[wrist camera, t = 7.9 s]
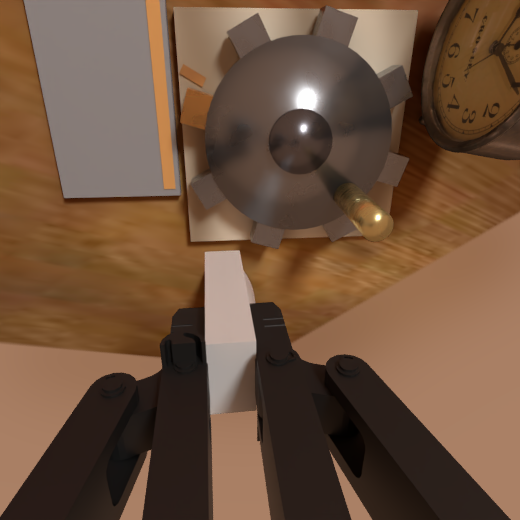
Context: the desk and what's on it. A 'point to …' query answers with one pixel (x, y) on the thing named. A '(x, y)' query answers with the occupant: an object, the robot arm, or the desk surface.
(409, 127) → the desk surface
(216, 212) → the plate
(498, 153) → the alarm clock
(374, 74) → the sprocket
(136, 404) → the robot arm
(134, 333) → the desk surface
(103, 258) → the desk surface
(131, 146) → the pad
